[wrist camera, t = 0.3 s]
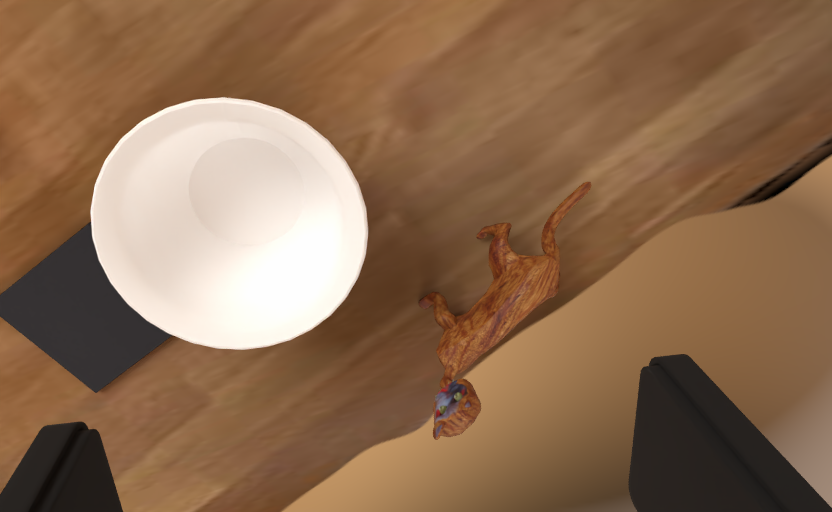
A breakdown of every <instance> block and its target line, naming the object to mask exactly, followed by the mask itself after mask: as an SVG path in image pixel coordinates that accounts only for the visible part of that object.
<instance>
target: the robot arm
mask: <svg viewBox="0 0 832 512" xmlns="http://www.w3.org/2000/svg"><path fill="white" fill-rule="evenodd" d="M629 492H630V496H631V499H632V502H633V504H634V506H635V508H636V509H637V511H638V512H832V508H831V507H830V506H829V505H828V504H827V503H826V501H825V500H824V499H823V498H822V497H821V496H820V495H819V494H818V493H817V492H816V491H815V490H814V489H813V488H812V487H811V486H810V484H809V483H808V482H807V481H806V480H805V479H804V478H803V477H802V476H801V475H800V474H799V473H798V472H797V471H796V469H795V468H794V467H793V466H792V465H791V464H790V463H789V462H788V461H787V460H786V459H785V458H784V457H783V456H782V455H781V454H780V452H779V451H778V450H777V449H776V448H775V447H774V446H773V445H772V444H771V443H770V442H769V441H768V440H767V439H766V438H765V436H764V435H762V433H761V432H760V431H759V430H758V429H757V428H756V427H755V426H754V425H753V424H752V423H751V422H750V421H749V420H748V418H747V417H746V416H745V415H744V414H743V413H742V412H741V411H740V410H739V409H738V408H737V407H736V406H735V405H734V403H733V402H732V401H731V400H729V398H728V397H727V396H726V395H725V394H724V393H723V392H722V391H721V390H720V389H719V387H718V386H716V384H715V383H714V382H713V381H712V380H711V379H710V378H709V377H708V376H707V375H706V374H705V373H704V372H703V370H702V369H701V368H700V367H699V366H698V365H697V364H696V363H695V362H694V361H693V360H692V359H691V358H690V357H689V356H688V355H685V354H680V355H670V356H663V357H662V356H661V357H654V358H653V359H651V361H650V363H649V366H647V367H643V368H642V370H641V374H640V382H639V392H638V401H637V410H636V420H635V429H634V437H633V447H632V457H631V465H630V474H629ZM0 512H123V510H122V507H121V503H120V500H119V497H118V493H117V490H116V487H115V483H114V480H113V477H112V473H111V470H110V467H109V463H108V460H107V457H106V453H105V450H104V447H103V443H102V440H101V437H100V434H99V432H98V431H97V430H96V429H90V430H89V429H88V427H87V425H86V424H85V423H84V422H73V423H64V424H55V425H47V426H45V427H43V428H42V429H41V430H40V431H39V433H38V435H37V436H36V438H35V439H34V441H33V443H32V444H31V446H30V448H29V449H28V451H27V452H26V454H25V456H24V457H23V459H22V460H21V462H20V464H19V465H18V467H17V468H16V470H15V472H14V473H13V475H12V477H11V478H10V480H9V481H8V483H7V485H6V486H5V488H4V489H3V491H2V493H1V494H0Z"/></svg>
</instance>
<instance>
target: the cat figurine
mask: <svg viewBox="0 0 832 512" xmlns="http://www.w3.org/2000/svg"><path fill="white" fill-rule="evenodd" d="M590 188H591V182H585V183H583V184H582V185H581V186H579V187H578V188H577V189H576V190H575V191H574V192H573V193H572V194H571V195H570V196H568V197H567V198H566V199H565V200H564V201H563V202H562V203H561V204H560V205H559V206H558V207H557V208H556V210H555V211H554V212H553V213H552V215H551V216H550V217H549V219H548V220H547V222H546V224H545V226H544V229H543V232H542V240H541V245H542V249H543V251H544V252H545V255H544V256H524V255H518V254H517V253H515V252H514V251H513V250H512V249H511V247H510V245H509V244H508V235H509V231H510V229H511V224H510V223H500V224H495V225H492V226H486V227H484V228H483V229H482V230H481V231H480V232H479V233H478V235H477V238H478V239H483V238H484V237H486V236H487V235H488V234H490V235H495V236H494V238H493V240H492V242H491V245H490V249H489V266H490V268H491V270H492V273H493V276H494V280H493V282H492V284H491V285H490V287H489V289H488V291H487V292H486V293H485V295H484V296H483V297H482V298H481V299H480V300H479V301H478V302H477V303H476V304H475V305H474V306H473V307H472V308H471V310H470V311H469V312H467V313H465V314H463V315H459V316H457V317H456V316H454V315H453V314H452V313H451V312H449V310H448V305H447V302H446V300H445V298H444V297H443V296H442V295H441V294H440V293H438V292H432V293H430V294H429V295H427V296H425V297H424V298H422V299H421V300H420V302H419V305H420V306H421V307H422V308H424V309H427V308H428V307H430V306H431V305H432V304H434V316H435V320H436V322H437V323H438V324H439V325H440V326H441V327H442V328H443V329H444V330H445V331H444V333H443V336H442V338H441V341H440V343H439V346H438V348H437V350H436V351H437V354H438V357H439V360H440V362H441V363H442V365H443V366H444V368H445V374H444V376H443V378H442V380H441V382H440V387H441V388H442V390H441V391H440V392H439V393H438V395H437V396H435V398H436V399H435V402H434V408H433V410H434V429H433V437H434V439H436V440H438V439H439V437H440V436H446V437H451V436H456V435H460V434H462V433H463V432H464V431H465V430H466V429H467V428H468V427H469V426H470V425H472V423H473V422H474V421H475V419H476V417H477V416H478V414H479V413H480V411H481V403H480V400H479V399H478V397H477V395H476V392H475V390H474V388H473V386H472V385H471V383H470V382H468V381H467V380H465V379H459V380H456V381H453V379H454V377H455V375H456V374H459V373H461V372H462V371H464V370H466V369H467V368H468V367H469V366H470V365H471V364H472V363H474V362H475V361H476V360H477V359H478V357H479V356H480V355H483V354H484V353H485V352H487V351H488V350H489V349H491V348H492V347H493V346H495V345H496V344H497V343H498V342H499V341H501V340H502V339H503V338H504V337H505V336H506V335H507V334H508V333H509V332H510V331H511V330H512V329H513V328H514V327H516V326H517V325H518V324H519V323H520V322H521V321H522V320H523V319H524V318H525V317H526V316H527V315H528V314H529V313H530V312H532V311H533V310H534V309H535V308H537V307H538V306H539V305H540V304H542V303H543V302H544V301H545V300H547V299H549V298H551V297H554V296H555V295H556V293H557V292H558V290H559V279H560V272H559V266H560V250H559V248H558V246H557V244H556V243H555V239H554V234H555V230H556V228H557V226H558V224H559V223H560V221H561V220H562V218H563V217H564V216H565V215H566V214H567V212H568V211H569V210H570V209H571V208H572V207H573V206H574V205H575V204H576V203H577V202H578V201H579V200H580V199H581V198H582V197H583V196H584V195H585V194H587V192H588V191H589V190H590ZM439 390H440V389H439Z"/></svg>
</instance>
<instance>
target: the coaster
mask: <svg viewBox="0 0 832 512" xmlns="http://www.w3.org/2000/svg"><path fill="white" fill-rule="evenodd" d="M0 317H2V318H3V319H4V320H5V321H7V322H8V323H9V324H10V325H12V326H13V327H14V328H15V329H17V330H18V331H19V332H20V333H22V334H23V335H24V336H25V337H27V338H28V339H29V340H30V341H32V342H33V343H34V344H35V345H37V346H38V347H39V348H40V349H42V350H43V351H44V352H45V353H47V354H48V355H49V356H50V357H52V358H53V359H54V360H55V361H57V362H58V363H59V364H60V365H62V366H63V367H64V368H65V369H67V370H68V371H69V372H70V373H72V374H73V375H74V376H75V377H77V378H78V379H79V380H80V381H82V382H83V383H84V384H85V385H87V386H88V387H89V388H90V389H91V390H93V391H94V392H95V393H97V392H98V391H99V390H101V389H102V388H103V387H105V386H106V385H107V384H109V383H110V382H111V381H113V380H114V379H115V378H117V377H118V376H119V375H121V374H122V373H123V372H125V371H126V370H127V369H128V368H130V367H131V366H132V365H134V364H135V363H136V362H138V361H139V360H140V359H142V358H143V357H144V356H146V355H147V354H148V353H150V352H151V351H152V350H154V349H155V348H156V347H158V346H159V345H160V344H162V343H163V342H164V341H166V340H167V339H168V338H170V337H171V336H172V335H171V334H168V333H167V332H165V331H164V330H162V329H160V328H159V327H157V326H155V325H154V324H152V323H150V322H149V321H147V320H146V319H144V318H143V317H142V316H141V315H140V314H139V313H138V312H136V311H135V310H134V309H133V308H132V307H131V306H129V305H128V304H127V303H126V301H125V300H124V299H123V298H122V296H121V295H120V294H119V293H118V291H117V290H116V289H115V288H114V286H113V285H112V284H111V282H110V281H109V279H108V277H107V275H106V273H105V271H104V269H103V267H102V265H101V263H100V261H99V259H98V255H97V252H96V248H95V245H94V241H93V238H92V226H91V222H90V223H88V224H87V225H86V226H85V227H84V228H82V229H81V230H80V231H79V232H77V233H76V234H75V235H74V236H72V237H71V238H70V239H69V240H68V241H66V242H65V243H64V244H63V245H61V246H60V247H59V248H58V249H56V250H55V251H54V252H53V253H51V254H50V255H49V256H48V257H47V258H45V259H44V260H43V261H42V262H40V263H39V264H38V265H37V266H35V267H34V268H33V269H32V270H30V271H29V272H28V273H27V274H26V275H24V276H23V277H22V278H21V279H19V280H18V281H17V282H16V283H14V284H13V285H12V286H11V287H9V288H8V289H7V290H6V291H5V292H3V293H2V294H1V295H0Z"/></svg>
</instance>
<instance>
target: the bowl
mask: <svg viewBox="0 0 832 512" xmlns="http://www.w3.org/2000/svg"><path fill="white" fill-rule="evenodd" d="M91 226H92V238H93V241H94V245H95V248H96V252H97V255H98V259H99V261H100V263H101V265H102V267H103V269H104V271H105V273H106V275H107V277H108V279H109V281H110V282H111V284H112V285H113V286H114V288H115V289H116V290H117V291H118V293H119V294H120V295H121V296H122V298H123V299H124V300H125V301H126V303H127V304H128V305H129V306H131V307H132V308H133V309H134V310H135V311H136V312H138V313H139V314H140V315H141V316H142V317H143V318H144V319H146V320H147V321H149V322H150V323H152V324H154V325H155V326H157V327H159V328H160V329H162V330H164V331H165V332H167V333H168V334H171V335H174V336H176V337H179V338H181V339H184V340H186V341H189V342H191V343H195V344H200V345H204V346H209V347H214V348H221V349H241V350H243V349H252V348H261V347H268V346H271V345H275V344H278V343H282V342H285V341H288V340H291V339H293V338H295V337H297V336H299V335H301V334H303V333H305V332H307V331H309V330H311V329H313V328H314V327H316V326H317V325H318V324H320V323H321V322H322V321H324V320H325V319H326V318H328V317H329V316H330V315H331V314H332V313H333V312H334V311H335V310H336V309H337V307H338V306H339V305H340V304H341V303H342V302H343V301H344V300H345V299H346V297H347V295H348V294H349V292H350V290H351V289H352V287H353V285H354V284H355V282H356V280H357V279H358V276H359V273H360V270H361V268H362V265H363V262H364V259H365V256H366V248H367V240H368V223H367V212H366V206H365V203H364V200H363V196H362V193H361V190H360V187H359V184H358V182H357V180H356V178H355V176H354V175H353V173H352V171H351V169H350V167H349V166H348V164H347V162H346V161H345V159H344V158H343V157H342V156H341V155H340V154H339V152H338V151H337V150H336V149H335V148H334V146H333V145H332V144H331V143H330V142H329V141H328V140H327V139H326V138H325V137H323V136H322V135H321V134H320V133H318V132H317V131H316V130H315V129H313V128H312V127H311V126H310V125H308V124H307V123H306V122H304V121H302V120H300V119H298V118H296V117H294V116H292V115H291V114H289V113H287V112H285V111H283V110H281V109H278V108H275V107H272V106H268V105H265V104H262V103H259V102H255V101H251V100H242V99H233V98H224V97H223V98H210V99H198V100H192V101H188V102H185V103H181V104H178V105H175V106H171V107H168V108H165V109H163V110H161V111H160V112H158V113H156V114H154V115H152V116H150V117H148V118H146V119H145V120H143V121H141V122H140V123H139V124H138V125H137V126H135V127H134V128H133V129H132V130H131V131H130V132H128V133H127V134H126V135H125V136H124V137H123V138H121V139H120V141H119V142H118V144H117V145H116V146H115V148H114V149H113V150H112V152H111V153H110V154H109V156H108V157H107V159H106V160H105V162H104V164H103V167H102V169H101V171H100V174H99V176H98V179H97V181H96V183H95V188H94V194H93V200H92V206H91Z"/></svg>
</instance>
